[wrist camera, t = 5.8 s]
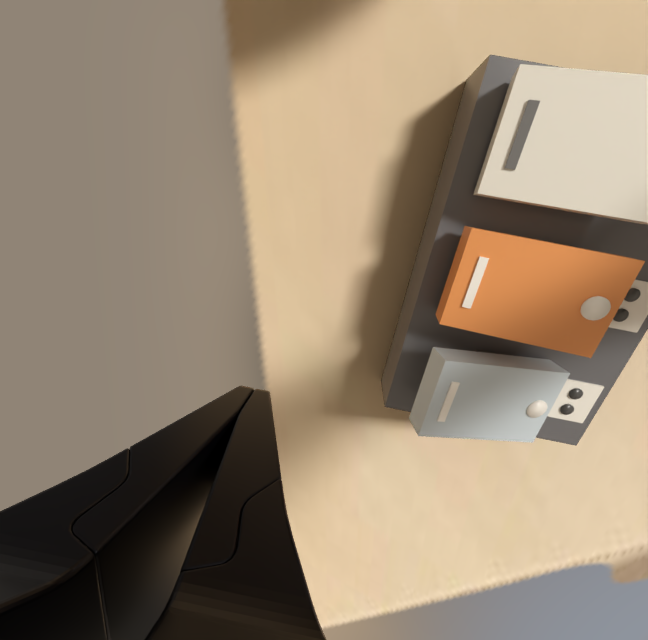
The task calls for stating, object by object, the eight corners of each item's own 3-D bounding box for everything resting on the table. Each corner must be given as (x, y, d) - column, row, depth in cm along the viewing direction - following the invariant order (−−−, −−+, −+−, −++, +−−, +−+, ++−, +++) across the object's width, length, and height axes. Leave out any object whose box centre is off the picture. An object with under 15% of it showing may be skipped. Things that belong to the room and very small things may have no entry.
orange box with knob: (622, 255, 14) (646, 261, 13) (574, 345, 16) (592, 359, 15) (464, 225, 15) (472, 228, 14) (435, 314, 17) (439, 324, 15)
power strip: (707, 122, 16) (802, 102, 12) (548, 414, 22) (582, 452, 19) (466, 79, 16) (496, 48, 13) (381, 380, 23) (385, 412, 19)
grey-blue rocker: (549, 359, 18) (571, 374, 16) (516, 425, 19) (534, 443, 18) (433, 346, 16) (446, 361, 15) (408, 418, 18) (418, 437, 17)
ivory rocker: (713, 97, 12) (751, 82, 10) (645, 224, 13) (669, 226, 12) (511, 77, 13) (520, 62, 12) (473, 194, 15) (477, 193, 14)
